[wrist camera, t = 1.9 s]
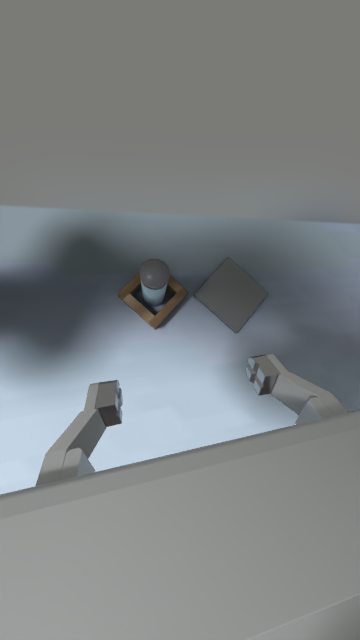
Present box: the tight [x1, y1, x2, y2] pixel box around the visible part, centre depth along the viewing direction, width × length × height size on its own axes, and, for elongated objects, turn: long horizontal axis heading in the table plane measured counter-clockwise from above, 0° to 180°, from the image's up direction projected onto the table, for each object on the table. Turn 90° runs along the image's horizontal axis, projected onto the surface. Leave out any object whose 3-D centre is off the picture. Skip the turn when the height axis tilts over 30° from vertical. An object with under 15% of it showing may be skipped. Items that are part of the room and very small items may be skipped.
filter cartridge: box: [140, 259, 169, 306], centre depth 32 cm, size 4×4×11 cm
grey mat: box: [194, 257, 268, 333], centre depth 40 cm, size 11×11×1 cm
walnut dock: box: [117, 272, 188, 329], centre depth 37 cm, size 9×9×2 cm
